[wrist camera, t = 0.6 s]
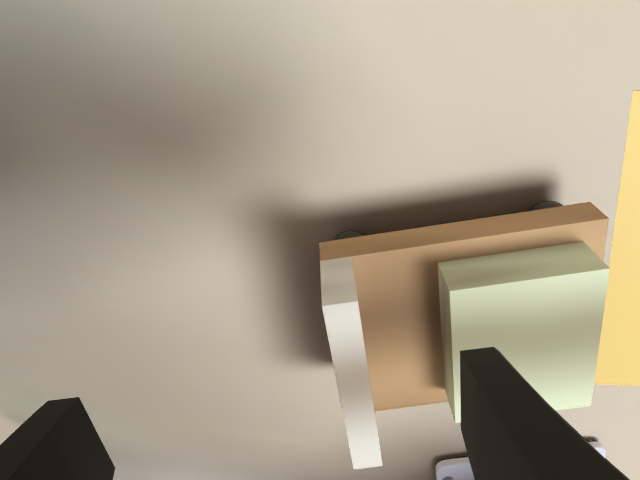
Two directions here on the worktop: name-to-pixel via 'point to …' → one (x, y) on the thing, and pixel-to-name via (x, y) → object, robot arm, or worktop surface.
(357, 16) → the worktop surface
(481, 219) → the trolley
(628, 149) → the loading dock
